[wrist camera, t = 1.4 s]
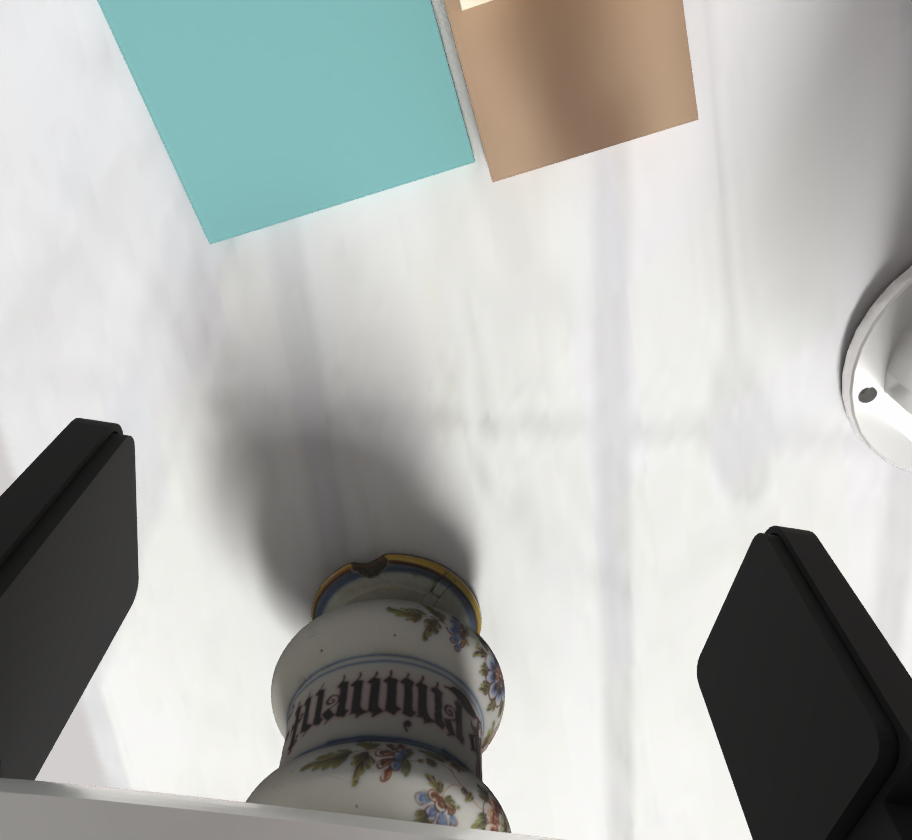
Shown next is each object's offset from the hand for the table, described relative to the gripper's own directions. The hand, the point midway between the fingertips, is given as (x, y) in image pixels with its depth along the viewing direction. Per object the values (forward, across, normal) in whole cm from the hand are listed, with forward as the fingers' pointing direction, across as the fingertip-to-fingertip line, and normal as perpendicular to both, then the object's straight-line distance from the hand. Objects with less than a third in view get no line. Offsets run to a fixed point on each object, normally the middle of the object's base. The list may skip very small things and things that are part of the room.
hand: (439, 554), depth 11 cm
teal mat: (+24, +8, -5) cm, 26 cm away
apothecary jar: (+24, -1, +24) cm, 35 cm away
